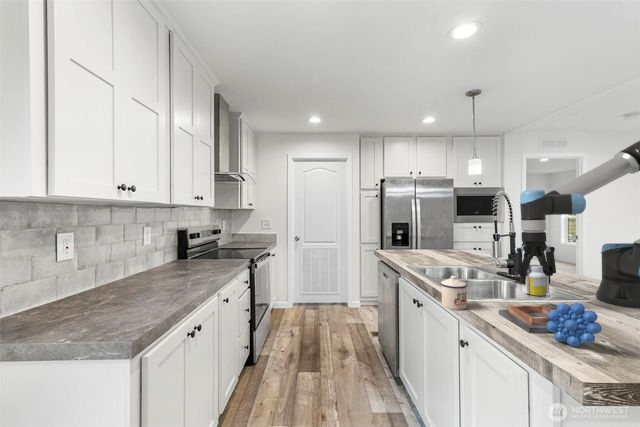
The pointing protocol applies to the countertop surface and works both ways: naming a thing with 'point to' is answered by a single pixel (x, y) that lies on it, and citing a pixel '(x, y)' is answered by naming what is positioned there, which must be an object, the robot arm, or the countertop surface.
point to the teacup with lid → (454, 294)
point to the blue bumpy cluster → (573, 324)
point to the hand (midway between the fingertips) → (535, 292)
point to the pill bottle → (536, 282)
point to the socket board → (528, 317)
